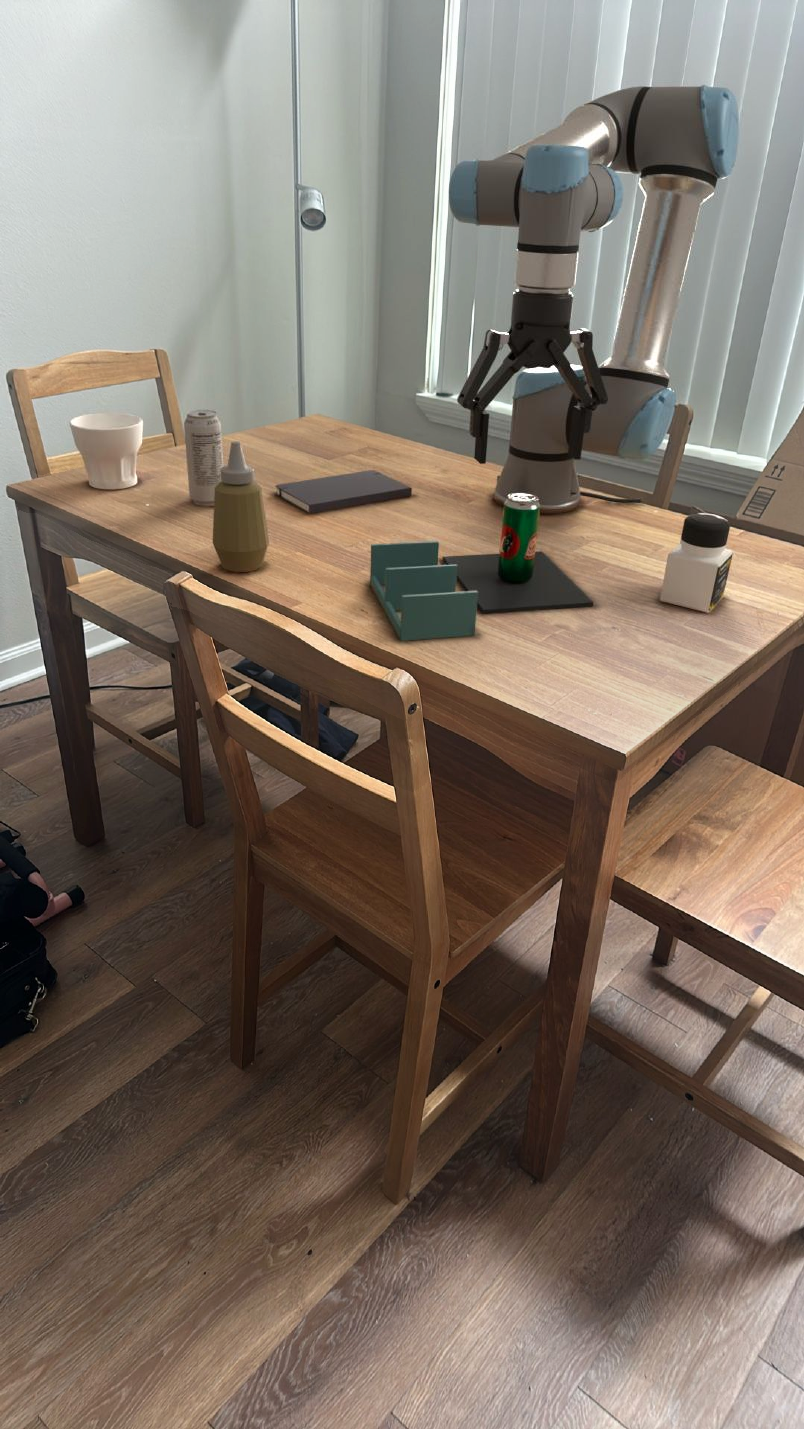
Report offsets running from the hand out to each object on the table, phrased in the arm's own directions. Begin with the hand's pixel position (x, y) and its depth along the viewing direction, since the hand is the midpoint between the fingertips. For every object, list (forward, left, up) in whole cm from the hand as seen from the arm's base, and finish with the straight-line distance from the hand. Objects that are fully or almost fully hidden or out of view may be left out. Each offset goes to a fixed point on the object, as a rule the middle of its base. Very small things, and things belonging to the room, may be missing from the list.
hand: (527, 459), depth 129 cm
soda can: (0, +1, -17) cm, 17 cm away
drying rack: (+16, +7, -18) cm, 25 cm away
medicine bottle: (-23, +10, -18) cm, 31 cm away
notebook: (+17, -43, -18) cm, 50 cm away
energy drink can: (+41, -43, -18) cm, 62 cm away
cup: (+57, -56, -18) cm, 82 cm away
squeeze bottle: (+38, -12, -18) cm, 44 cm away
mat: (0, 0, -18) cm, 18 cm away
